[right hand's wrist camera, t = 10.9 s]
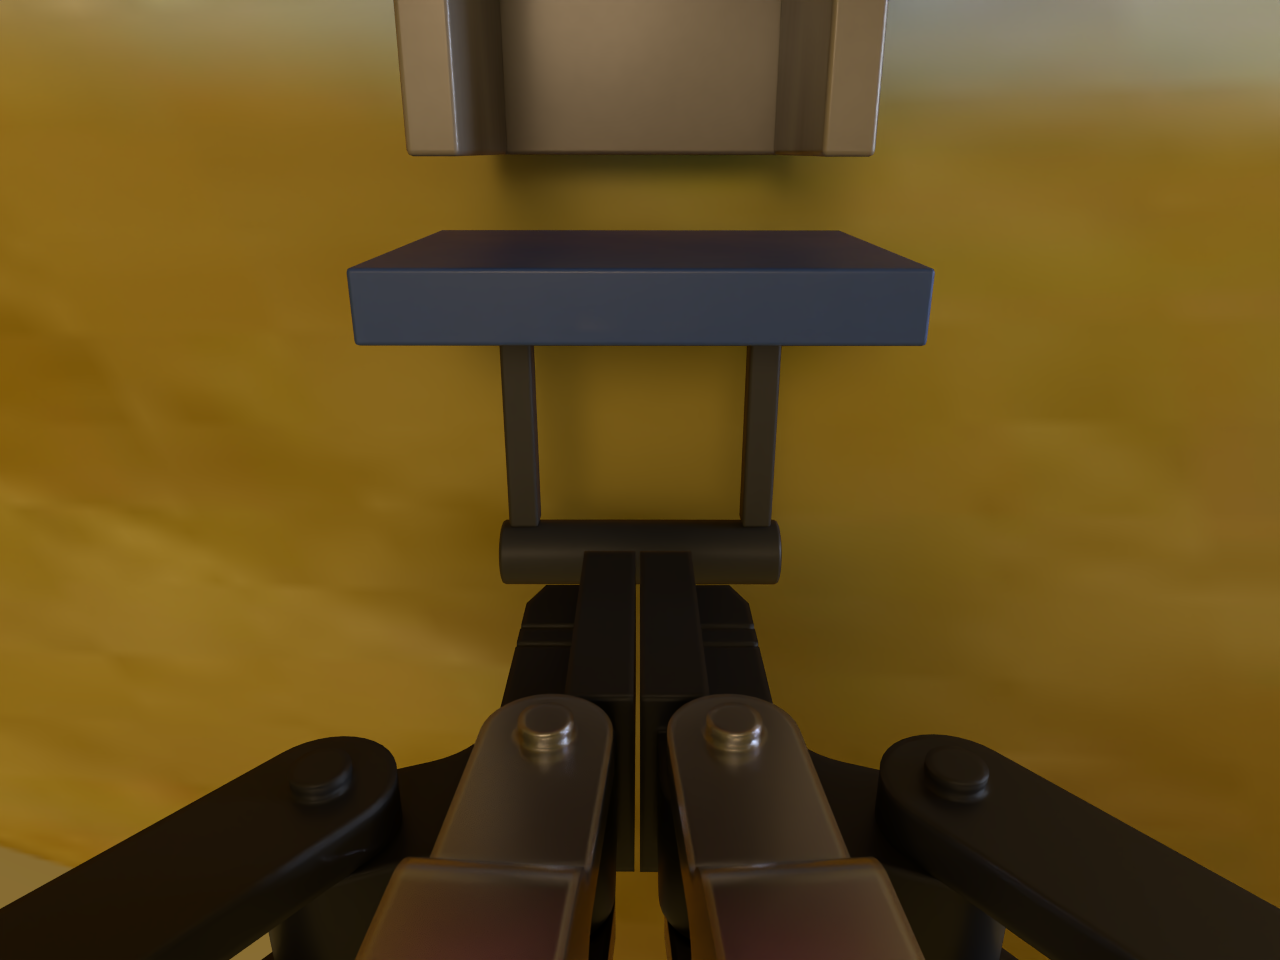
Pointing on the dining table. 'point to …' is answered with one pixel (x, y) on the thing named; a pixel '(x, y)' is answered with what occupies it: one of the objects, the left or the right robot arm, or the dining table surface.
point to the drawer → (640, 260)
